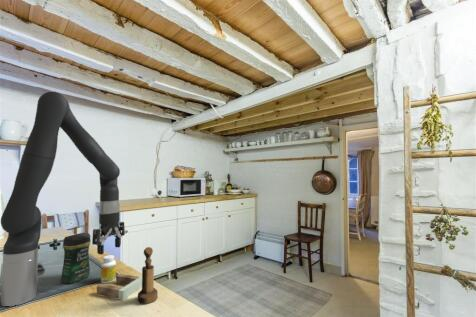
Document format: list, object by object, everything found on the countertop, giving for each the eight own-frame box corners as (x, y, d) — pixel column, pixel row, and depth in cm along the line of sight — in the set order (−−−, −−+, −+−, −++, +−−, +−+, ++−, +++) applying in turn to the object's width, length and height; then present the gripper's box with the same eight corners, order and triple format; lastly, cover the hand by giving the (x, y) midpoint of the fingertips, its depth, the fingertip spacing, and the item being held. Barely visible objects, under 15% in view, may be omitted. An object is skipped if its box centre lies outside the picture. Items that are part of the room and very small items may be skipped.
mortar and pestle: (157, 293, 89) (157, 243, 90) (157, 302, 83) (158, 249, 84) (137, 296, 87) (138, 246, 87) (137, 306, 81) (138, 251, 81)
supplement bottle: (109, 284, 96) (109, 259, 96) (97, 282, 97) (98, 258, 98) (118, 278, 101) (118, 254, 102) (107, 277, 102) (107, 253, 103)
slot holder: (96, 294, 88) (96, 286, 88) (119, 281, 99) (119, 273, 99) (123, 299, 85) (123, 291, 85) (144, 285, 95) (144, 277, 95)
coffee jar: (70, 285, 95) (71, 238, 95) (57, 282, 98) (59, 236, 98) (93, 275, 104) (94, 232, 104) (81, 272, 107) (82, 230, 107)
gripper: (115, 208, 108) (115, 244, 108) (87, 214, 95) (87, 255, 94) (129, 208, 106) (129, 245, 105) (102, 215, 92) (102, 257, 92)
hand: (109, 250), depth 100 cm, fingers open, 8 cm apart
